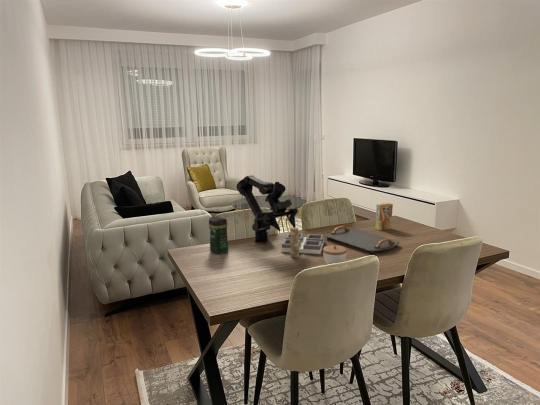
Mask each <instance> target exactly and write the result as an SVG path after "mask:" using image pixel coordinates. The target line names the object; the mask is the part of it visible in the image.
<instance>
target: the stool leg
mask: <svg viewBox="0 0 540 405" xmlns="http://www.w3.org/2000/svg"><path fill="white" fill-rule="evenodd" d="M289 229H290V230H289V231H290V232H289V233H290V242H291V252H290V258H295V259H297V258H299V254H300V253H299V234H300V233H299V232H300V230H299V228H298V227H295V228H294V227H291V228H289Z"/></svg>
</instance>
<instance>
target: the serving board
mask: <svg viewBox="0 0 540 405" xmlns="http://www.w3.org/2000/svg"><path fill="white" fill-rule="evenodd" d="M325 237H326V240H329V241H330V240H335V241H338V242H340V243H344V244H347V245H350V246H353V247H356V248H360V249H362V250H365V251H366V252H367V251H369V252H370V255H375V254H376V253H375V252H380V251H386V250H390V249H393V248H397V247H398V246H399V244H400V241H399V240H396V239H392V238H388V237H385V236H380V235H378V234H375V233H371V232H367V231H365V230H364V231H363V230H360V229H356V228H350V227H347V226H345V225H340V226H337V227H335V228H334V229H333V231H331V232H329V233H327V234H325Z"/></svg>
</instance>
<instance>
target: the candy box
mask: <svg viewBox="0 0 540 405" xmlns="http://www.w3.org/2000/svg"><path fill="white" fill-rule="evenodd" d="M393 206H394V205H393V203H391V202H383V203H376V207H375V208H376V209H375V210H376V211H375V229H376V230H378V231H383V230H384V231H385V230H391V229H392V223H393V221H392V220H393V209H394V208H393Z"/></svg>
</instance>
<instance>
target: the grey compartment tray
mask: <svg viewBox="0 0 540 405" xmlns="http://www.w3.org/2000/svg"><path fill="white" fill-rule="evenodd" d="M324 243H325V238H324V234H317V233H316V234H315V233H314V234H313V233H311V234H310V233H308V234H307V236H304V233H299V254H313V255H314V254H316V255H321V253H322V251H323V248H324ZM280 252H281V253H291V242H290V232H287V235H286V236H285V238H284V239H283V241H282V243H281V247H280Z"/></svg>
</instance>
